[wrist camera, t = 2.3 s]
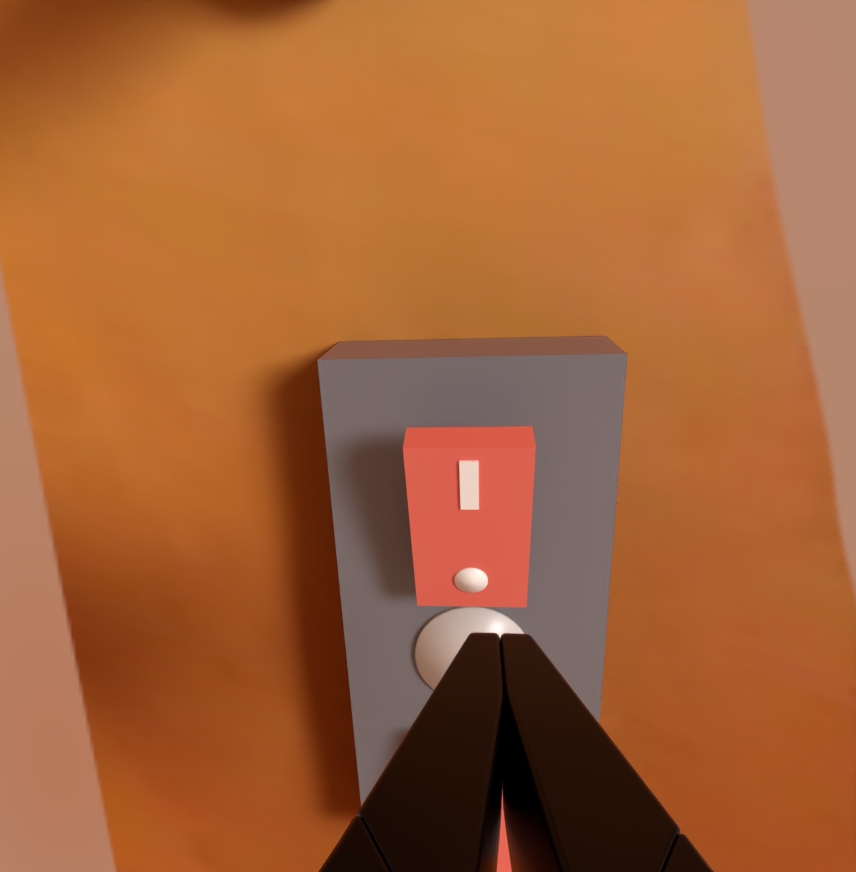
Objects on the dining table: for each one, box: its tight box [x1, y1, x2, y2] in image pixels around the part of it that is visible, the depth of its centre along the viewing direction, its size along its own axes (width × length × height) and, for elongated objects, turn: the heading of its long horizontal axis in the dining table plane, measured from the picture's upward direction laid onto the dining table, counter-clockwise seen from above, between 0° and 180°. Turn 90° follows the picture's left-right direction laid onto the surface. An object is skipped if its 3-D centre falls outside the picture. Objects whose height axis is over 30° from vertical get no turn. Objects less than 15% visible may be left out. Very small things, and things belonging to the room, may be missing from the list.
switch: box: [403, 426, 536, 608], centre depth 17 cm, size 6×3×1 cm, turn 3°
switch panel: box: [317, 336, 627, 806], centre depth 22 cm, size 25×9×4 cm, turn 2°
